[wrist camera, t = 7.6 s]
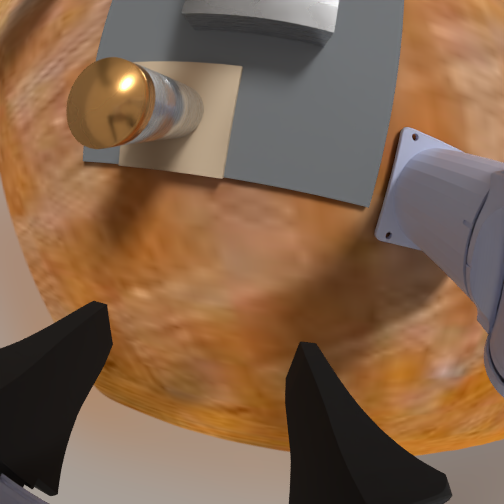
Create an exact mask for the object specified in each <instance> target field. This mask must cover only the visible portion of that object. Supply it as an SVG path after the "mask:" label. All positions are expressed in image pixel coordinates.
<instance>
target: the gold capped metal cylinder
mask: <svg viewBox="0 0 504 504" xmlns="http://www.w3.org/2000/svg"><path fill="white" fill-rule="evenodd" d="M203 112H204V107H203V101H202V99H201V97H200V95H199V94H198V92H197V91H196V90H194V89H193V88H191V87H189V86H187V85H185V84H183V83H181V82H178V81H176V80H174V79H172V78H169V77H167V76H165V75H163V74H160V73H158V72H155V71H153V70H151V69H148V68H146V67H143V66H141V65H138V64H135V63H133V62H130V61H127V60H125V59H122V58H118V57H108V58H103V59H100V60H98V61H96V62H94V63H92V64H91V65H89V66H88V67H87V68H86V69H85V70H84V71H83V72H82V73H81V74H80V75H79V76H78V78H77V79H76V81H75V83H74V84H73V86H72V89H71V91H70V94H69V97H68V102H67V121H68V125H69V128H70V130H71V132H72V134H73V136H74V137H75V138H76V140H77V141H78V142H80V143H81V144H82V145H84V146H86V147H88V148H92V149H105V148H110V147H116V146H122V145H128V144H135V143H141V142H149V141H157V140H165V139H174V138H181V137H184V136H187V135H188V134H190V133H192V132H193V131H194V130H195V129H196V128H197V127H198V125H199V124H200V122H201V120H202V117H203Z"/></svg>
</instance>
